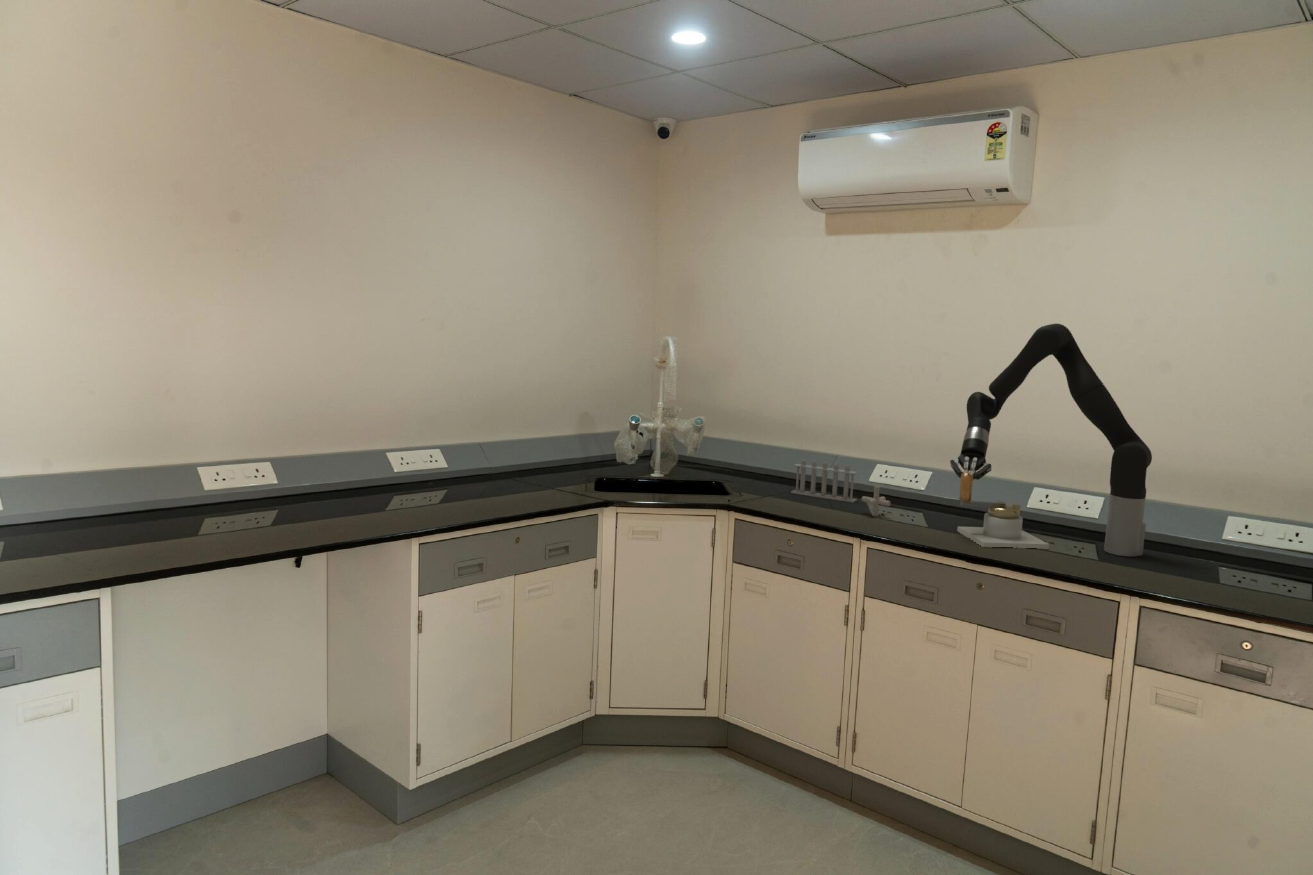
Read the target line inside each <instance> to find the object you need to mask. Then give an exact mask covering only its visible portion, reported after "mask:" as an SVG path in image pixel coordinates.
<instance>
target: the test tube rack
mask: <svg viewBox="0 0 1313 875" xmlns="http://www.w3.org/2000/svg"><path fill="white" fill-rule="evenodd" d="M828 465H829V463H828V462H822V466H818V462H817V461H816V460H812V462H811V465H809V464H807V459H801V463H795V464H792V467H796V479H795V480H796V481H795V482H796V483H795V489H794V490H791V491H790V493H791V494H795V495H801V496H807V497H813V498H818V499H819V498H820V499H827V500H833V501H838V502H845V503H850V504H851V503H855V502H857V501H858V499H857V498H854V497H853V491H854V477H855V475H857V474H859V471H854V470H850V468H851V466H850V465H848V464H846V465H845V467H844V469H840V467H839V466H840V465H839V464H838V463H834V465H833V468H832V467H829V466H828ZM806 469H811V479H810V491H807V490H805V488H806V487H805V486H806V473H807V472H806ZM817 470H820V471H822V476H821V477H822V478H821V492H816V484H817V482H816V481H817V479H816V478H817ZM828 472H833V473H832V474H833V475H832V494H827V493H826V492H827V485H828V484H827V481H828ZM839 473H841V474H844V478H843V479H844V480H843V494H842V496H840V495H839V496H838V482H839ZM850 476H851V477H850ZM799 477H800V478H799ZM850 478H851V479H850ZM799 479H800V480H799ZM850 480H851V482H850ZM799 481H800V482H799ZM799 483H800V484H799ZM849 484H850V485H849ZM849 488H850V491H849ZM849 492H850V494H849Z"/></svg>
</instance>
